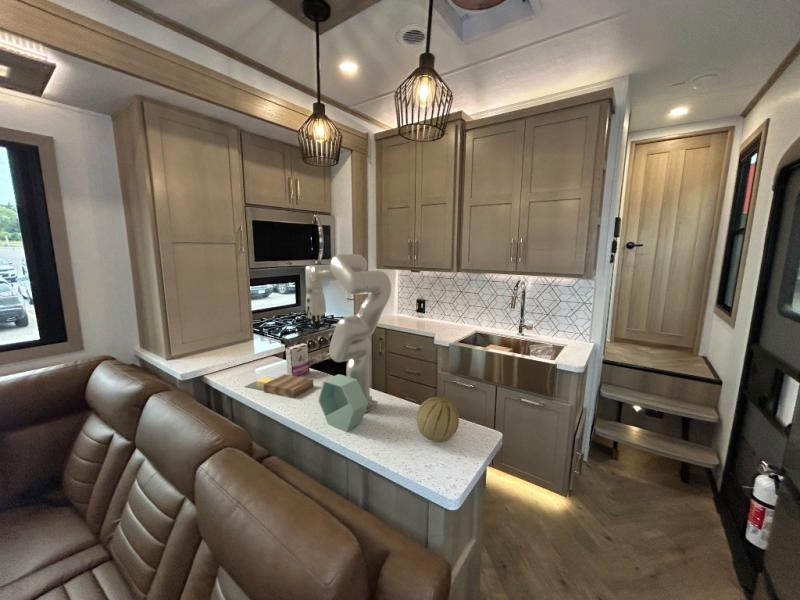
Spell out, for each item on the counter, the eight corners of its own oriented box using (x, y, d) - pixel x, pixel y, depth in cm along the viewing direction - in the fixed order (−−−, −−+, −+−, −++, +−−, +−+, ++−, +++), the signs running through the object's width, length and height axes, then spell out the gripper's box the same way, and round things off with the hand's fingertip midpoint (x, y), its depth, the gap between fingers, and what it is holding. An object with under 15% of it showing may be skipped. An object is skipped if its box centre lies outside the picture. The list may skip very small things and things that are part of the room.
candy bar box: (304, 371, 183) (302, 342, 181) (310, 373, 180) (308, 344, 178) (286, 377, 174) (285, 347, 172) (292, 379, 171) (290, 349, 169)
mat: (286, 380, 169) (286, 380, 169) (265, 391, 156) (265, 390, 156) (266, 377, 175) (266, 376, 175) (244, 386, 162) (244, 386, 162)
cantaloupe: (407, 438, 115) (407, 398, 113) (434, 423, 125) (434, 385, 123) (441, 456, 104) (441, 412, 102) (467, 438, 114) (467, 397, 112)
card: (279, 384, 164) (278, 379, 164) (270, 388, 159) (269, 383, 158) (265, 381, 168) (265, 376, 168) (256, 385, 162) (256, 380, 162)
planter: (333, 437, 124) (312, 387, 128) (348, 428, 130) (327, 381, 134) (360, 426, 114) (335, 372, 119) (374, 417, 120) (351, 366, 125)
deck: (313, 386, 161) (313, 379, 160) (293, 398, 148) (293, 390, 148) (285, 381, 168) (284, 374, 167) (264, 392, 155) (263, 384, 155)
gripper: (310, 293, 147) (312, 332, 150) (330, 289, 161) (332, 326, 163) (297, 292, 150) (299, 331, 153) (318, 289, 164) (319, 325, 166)
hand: (316, 328), depth 158 cm, fingers closed
